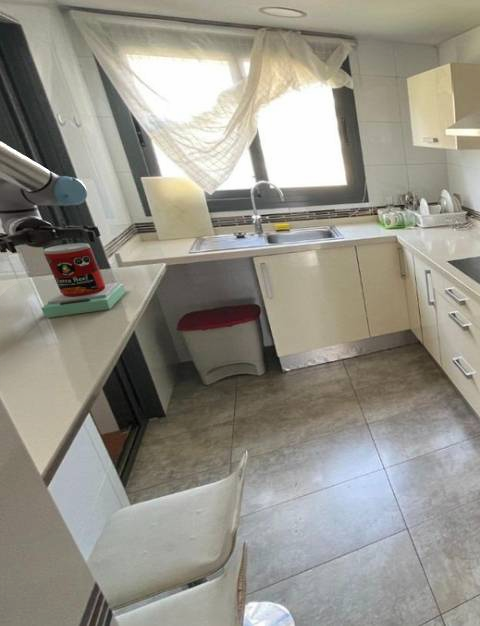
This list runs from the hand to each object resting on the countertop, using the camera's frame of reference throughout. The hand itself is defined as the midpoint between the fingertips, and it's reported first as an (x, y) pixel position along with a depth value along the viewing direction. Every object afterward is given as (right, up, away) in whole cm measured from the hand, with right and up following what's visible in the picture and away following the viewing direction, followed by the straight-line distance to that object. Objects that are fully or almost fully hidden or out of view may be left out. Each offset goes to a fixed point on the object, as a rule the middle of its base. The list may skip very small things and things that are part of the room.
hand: (53, 241), depth 111 cm
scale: (+9, -15, -1) cm, 18 cm away
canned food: (+9, -12, -1) cm, 15 cm away
